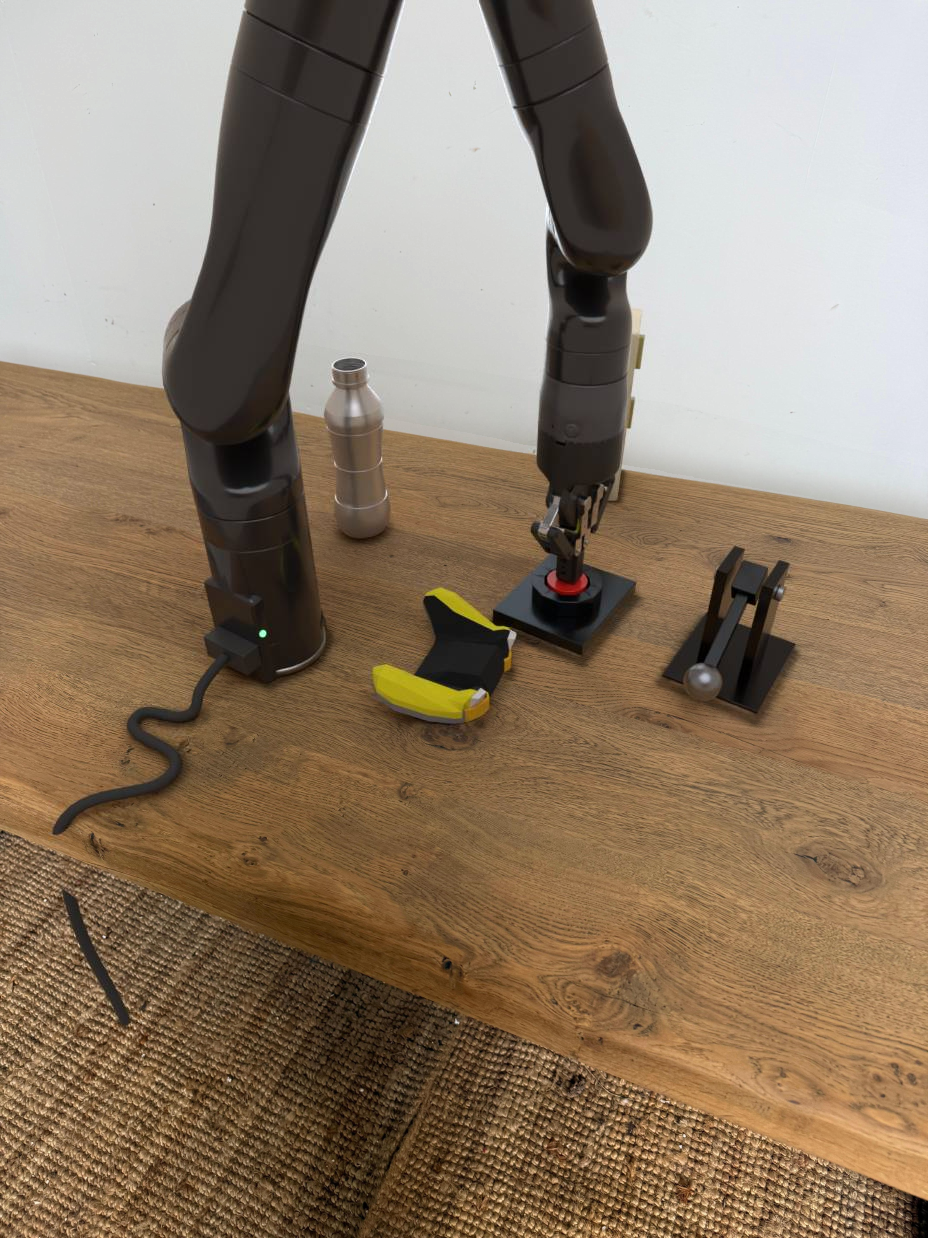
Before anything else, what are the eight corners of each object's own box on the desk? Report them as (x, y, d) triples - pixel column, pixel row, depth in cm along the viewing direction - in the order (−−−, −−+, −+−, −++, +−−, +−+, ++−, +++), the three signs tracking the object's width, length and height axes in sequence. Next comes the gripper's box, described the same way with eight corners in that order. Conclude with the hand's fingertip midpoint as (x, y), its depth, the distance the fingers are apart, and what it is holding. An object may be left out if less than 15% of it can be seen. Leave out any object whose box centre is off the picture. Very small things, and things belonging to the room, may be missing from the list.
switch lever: (714, 711, 73) (712, 699, 71) (678, 697, 75) (675, 684, 72) (773, 583, 77) (774, 567, 74) (738, 571, 78) (737, 555, 75)
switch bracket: (755, 721, 76) (785, 617, 69) (660, 683, 80) (679, 581, 73) (793, 652, 83) (824, 551, 76) (704, 620, 87) (725, 521, 80)
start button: (574, 610, 85) (575, 596, 84) (539, 597, 87) (539, 583, 85) (593, 589, 87) (594, 575, 86) (558, 577, 89) (559, 563, 88)
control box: (580, 662, 82) (584, 630, 80) (492, 626, 87) (492, 595, 84) (634, 598, 90) (638, 567, 88) (550, 568, 95) (552, 537, 92)
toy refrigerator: (623, 503, 105) (645, 333, 92) (563, 497, 106) (576, 328, 93) (627, 471, 111) (648, 307, 98) (570, 466, 112) (583, 303, 99)
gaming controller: (365, 721, 77) (470, 752, 74) (360, 676, 73) (470, 706, 70) (432, 622, 87) (526, 645, 85) (431, 578, 84) (528, 600, 81)
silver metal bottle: (326, 538, 99) (304, 372, 87) (353, 509, 104) (337, 348, 92) (376, 550, 97) (361, 381, 85) (401, 520, 102) (391, 356, 90)
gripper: (578, 382, 81) (566, 536, 92) (505, 437, 72) (501, 601, 83) (652, 400, 78) (631, 558, 89) (585, 461, 69) (570, 627, 80)
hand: (568, 578), depth 86 cm, fingers closed
